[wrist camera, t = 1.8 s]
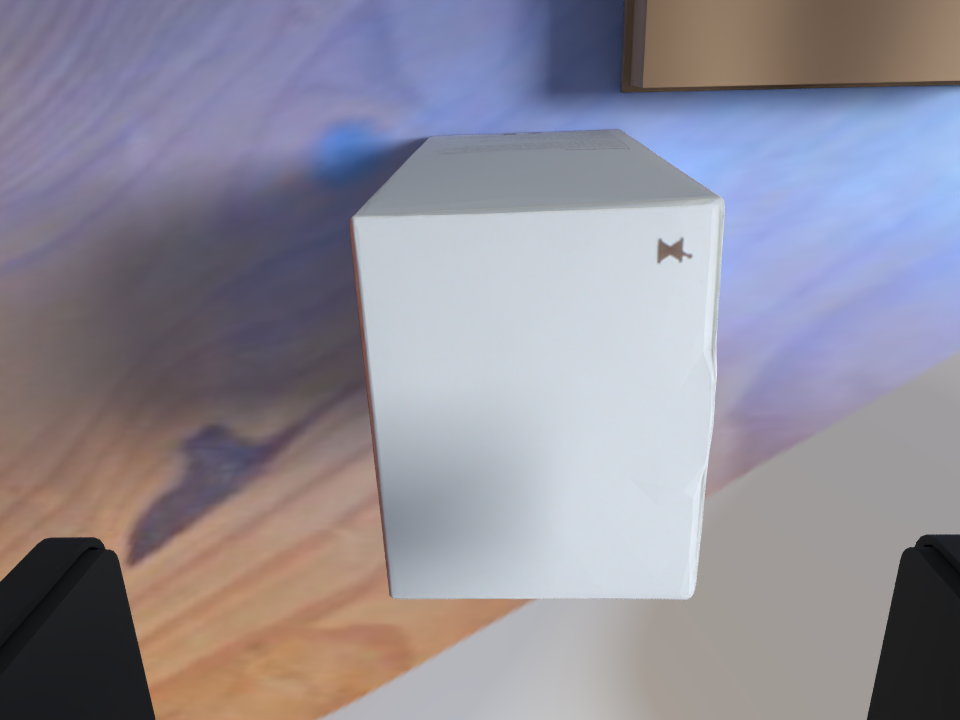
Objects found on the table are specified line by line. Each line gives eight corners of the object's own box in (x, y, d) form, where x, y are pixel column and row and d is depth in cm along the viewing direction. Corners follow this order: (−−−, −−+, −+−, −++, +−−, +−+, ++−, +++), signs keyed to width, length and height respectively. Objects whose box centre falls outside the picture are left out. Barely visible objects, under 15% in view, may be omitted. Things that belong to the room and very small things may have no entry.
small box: (425, 134, 24) (341, 206, 12) (623, 125, 24) (738, 191, 12) (441, 366, 27) (385, 609, 15) (618, 362, 27) (704, 606, 15)
